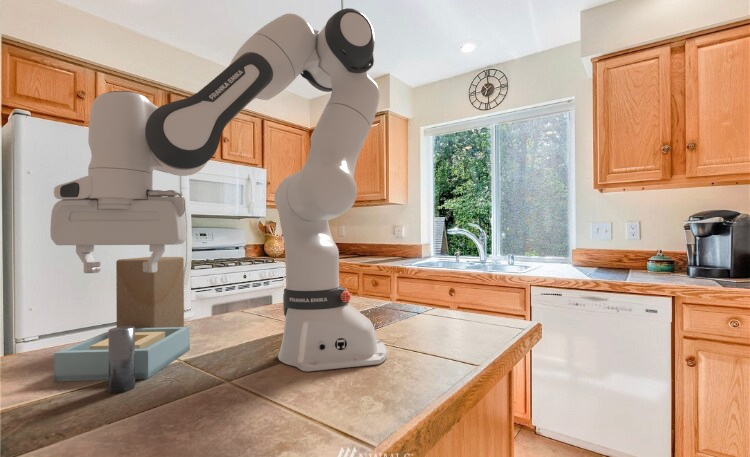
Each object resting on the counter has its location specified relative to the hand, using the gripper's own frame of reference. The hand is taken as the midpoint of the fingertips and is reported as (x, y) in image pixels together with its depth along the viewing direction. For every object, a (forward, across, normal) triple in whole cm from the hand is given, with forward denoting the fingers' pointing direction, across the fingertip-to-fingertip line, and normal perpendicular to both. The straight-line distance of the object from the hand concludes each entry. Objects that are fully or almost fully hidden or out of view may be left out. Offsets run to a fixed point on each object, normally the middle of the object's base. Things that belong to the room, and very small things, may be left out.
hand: (121, 272), depth 60 cm
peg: (+19, 0, 0) cm, 19 cm away
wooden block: (+20, +10, -27) cm, 35 cm away
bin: (+19, +6, -12) cm, 23 cm away
